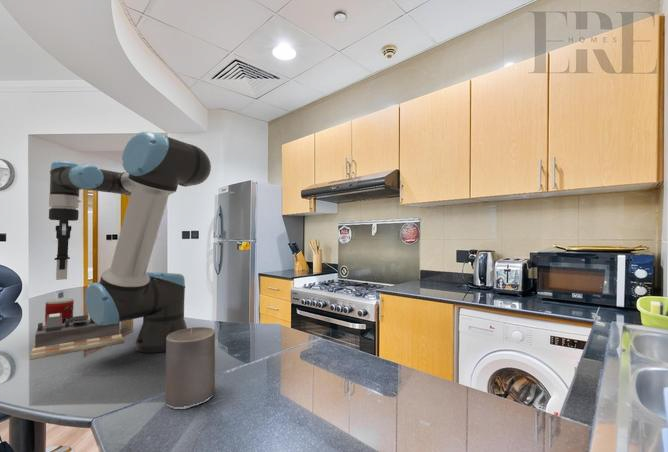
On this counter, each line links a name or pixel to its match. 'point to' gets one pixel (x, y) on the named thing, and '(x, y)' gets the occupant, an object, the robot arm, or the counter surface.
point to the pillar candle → (190, 366)
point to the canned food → (60, 308)
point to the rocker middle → (80, 318)
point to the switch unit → (74, 338)
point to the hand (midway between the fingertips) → (61, 279)
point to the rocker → (53, 322)
